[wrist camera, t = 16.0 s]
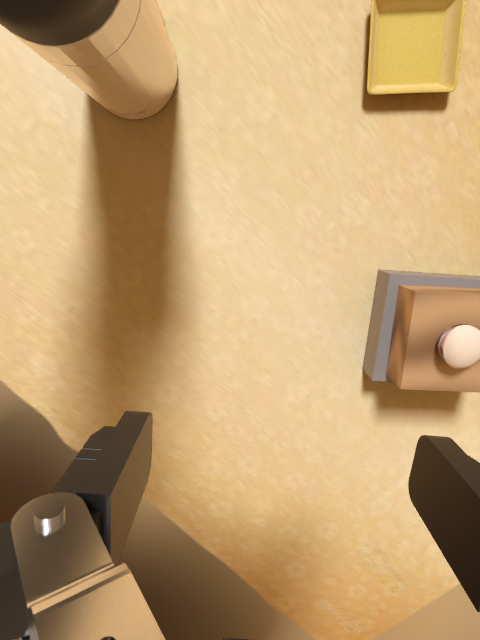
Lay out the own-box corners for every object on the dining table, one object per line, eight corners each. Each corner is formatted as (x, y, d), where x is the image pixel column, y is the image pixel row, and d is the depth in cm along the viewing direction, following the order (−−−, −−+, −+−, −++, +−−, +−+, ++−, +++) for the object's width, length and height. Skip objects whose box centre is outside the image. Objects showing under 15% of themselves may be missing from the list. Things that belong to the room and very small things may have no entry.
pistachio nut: (435, 322, 37) (448, 329, 34) (488, 318, 37) (505, 325, 34) (433, 364, 38) (446, 374, 36) (484, 360, 38) (500, 370, 35)
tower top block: (398, 284, 40) (415, 291, 36) (494, 288, 40) (521, 295, 36) (385, 373, 43) (400, 389, 39) (475, 377, 43) (499, 393, 39)
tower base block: (376, 268, 44) (389, 273, 40) (481, 276, 44) (504, 281, 40) (361, 367, 47) (372, 380, 43) (458, 373, 47) (478, 387, 43)
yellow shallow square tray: (360, 100, 39) (366, 94, 37) (365, 1, 37) (372, -12, 35) (445, 98, 39) (456, 92, 37) (455, -2, 37) (467, -15, 35)
